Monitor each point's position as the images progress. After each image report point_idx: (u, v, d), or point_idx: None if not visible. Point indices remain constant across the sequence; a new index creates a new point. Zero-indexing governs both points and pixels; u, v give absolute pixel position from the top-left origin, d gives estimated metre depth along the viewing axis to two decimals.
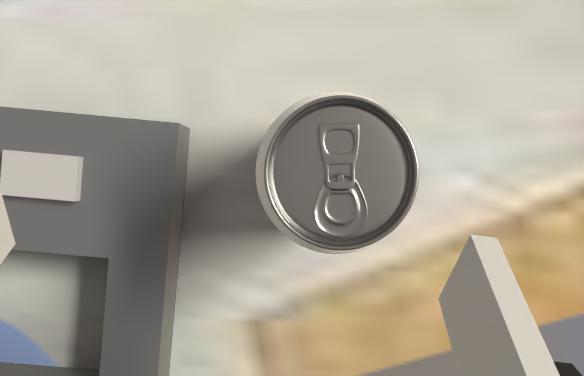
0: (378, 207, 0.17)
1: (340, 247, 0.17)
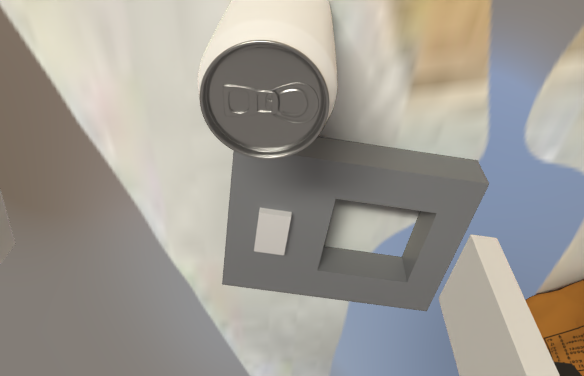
0: (295, 73, 0.20)
1: (326, 109, 0.20)
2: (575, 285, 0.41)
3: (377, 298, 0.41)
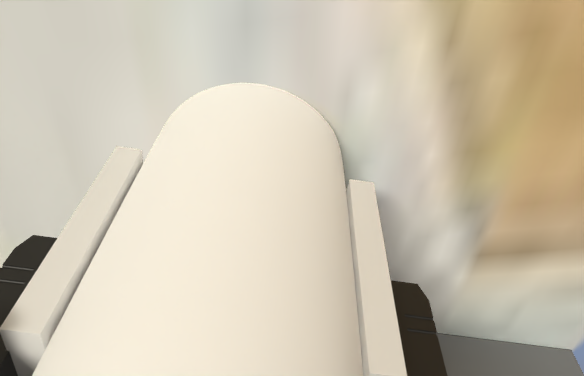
0: None
1: None
2: None
3: None
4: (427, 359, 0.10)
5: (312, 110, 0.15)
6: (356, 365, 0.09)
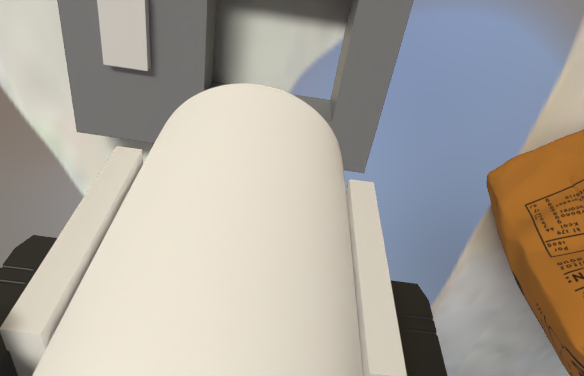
0: None
1: None
2: (569, 136, 0.30)
3: None
4: (427, 359, 0.10)
5: (312, 111, 0.15)
6: (356, 366, 0.09)
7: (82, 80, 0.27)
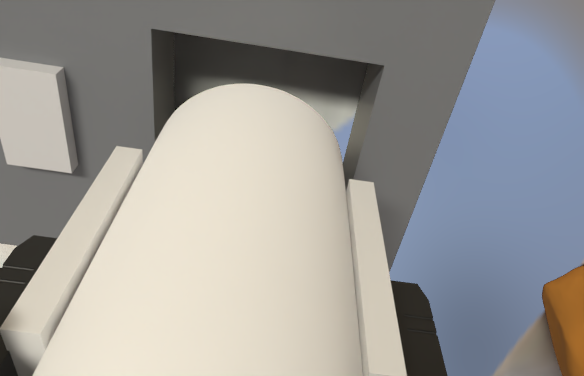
0: None
1: None
2: None
3: None
4: (427, 359, 0.10)
5: (312, 111, 0.15)
6: (355, 366, 0.09)
7: None
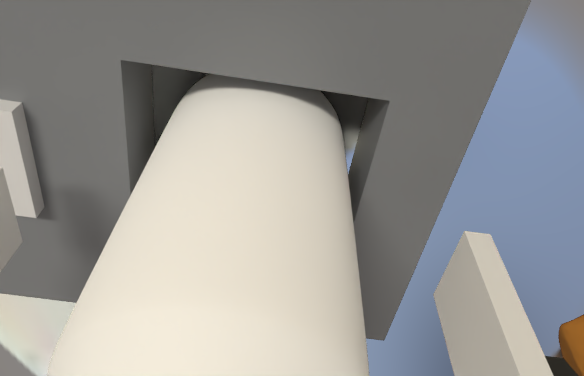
0: None
1: None
2: None
3: None
4: None
5: (316, 91, 0.16)
6: (358, 304, 0.10)
7: None
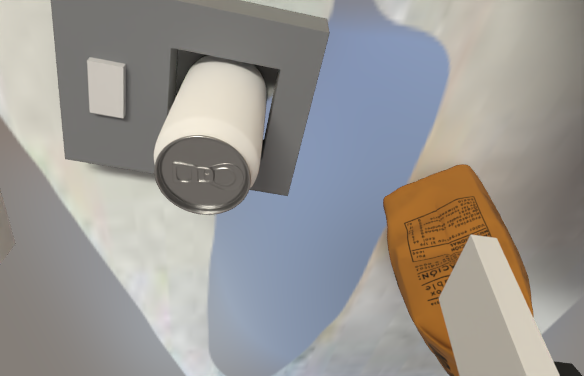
0: (225, 157, 0.27)
1: (248, 182, 0.28)
2: (440, 172, 0.41)
3: None
4: None
5: (253, 66, 0.35)
6: (257, 134, 0.30)
7: (72, 121, 0.35)
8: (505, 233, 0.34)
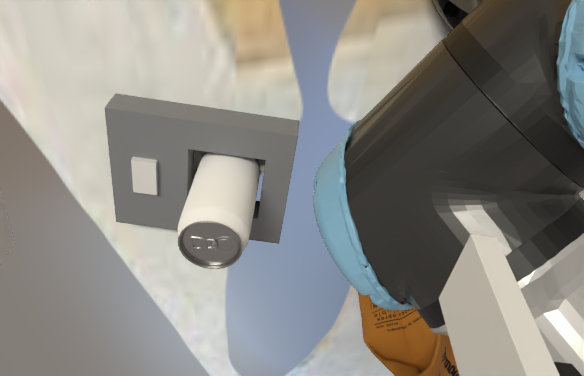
0: (224, 232, 0.40)
1: (241, 248, 0.41)
2: None
3: None
4: None
5: None
6: (247, 212, 0.43)
7: (121, 197, 0.50)
8: None
